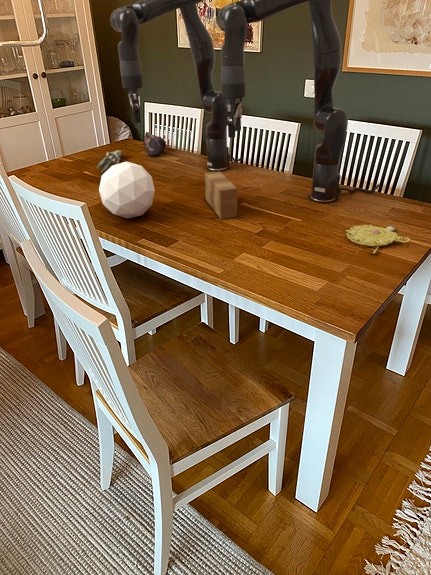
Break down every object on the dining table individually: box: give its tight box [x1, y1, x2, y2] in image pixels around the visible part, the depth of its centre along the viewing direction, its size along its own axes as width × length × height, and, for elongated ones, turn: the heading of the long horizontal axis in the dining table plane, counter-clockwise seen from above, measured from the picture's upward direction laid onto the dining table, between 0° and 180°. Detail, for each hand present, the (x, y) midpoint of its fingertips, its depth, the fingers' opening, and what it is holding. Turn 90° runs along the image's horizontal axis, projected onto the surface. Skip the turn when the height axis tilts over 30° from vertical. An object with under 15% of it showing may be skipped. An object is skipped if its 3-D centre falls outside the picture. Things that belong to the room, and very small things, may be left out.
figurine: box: [96, 150, 123, 174], centre depth 213 cm, size 7×8×30 cm
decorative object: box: [345, 223, 411, 255], centre depth 140 cm, size 21×2×20 cm
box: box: [204, 171, 238, 220], centre depth 163 cm, size 20×6×11 cm, turn 17°
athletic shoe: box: [143, 131, 170, 157], centre depth 230 cm, size 11×22×12 cm
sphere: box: [98, 160, 156, 220], centre depth 157 cm, size 19×20×20 cm
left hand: (137, 120), depth 169 cm, fingers open, 8 cm apart
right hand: (234, 134), depth 147 cm, fingers open, 8 cm apart
